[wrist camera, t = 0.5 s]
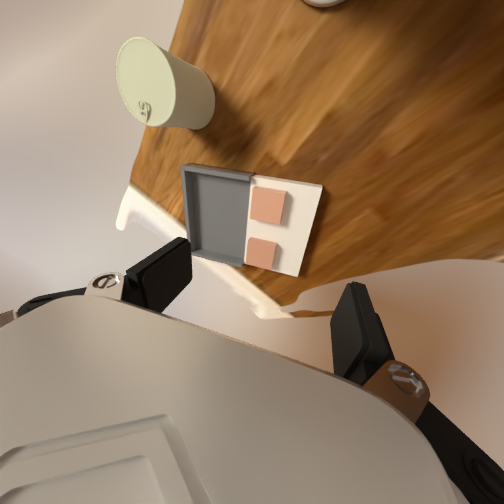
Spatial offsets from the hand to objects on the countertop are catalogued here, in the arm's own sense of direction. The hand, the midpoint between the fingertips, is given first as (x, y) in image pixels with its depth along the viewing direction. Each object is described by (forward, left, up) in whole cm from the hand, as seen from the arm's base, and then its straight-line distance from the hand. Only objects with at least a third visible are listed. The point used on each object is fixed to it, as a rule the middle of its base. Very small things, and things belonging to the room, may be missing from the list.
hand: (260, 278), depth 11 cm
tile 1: (+5, -5, -28) cm, 29 cm away
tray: (+10, -16, -31) cm, 36 cm away
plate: (+10, -3, -31) cm, 32 cm away
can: (-11, -22, -31) cm, 39 cm away
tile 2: (+16, -5, -28) cm, 33 cm away
